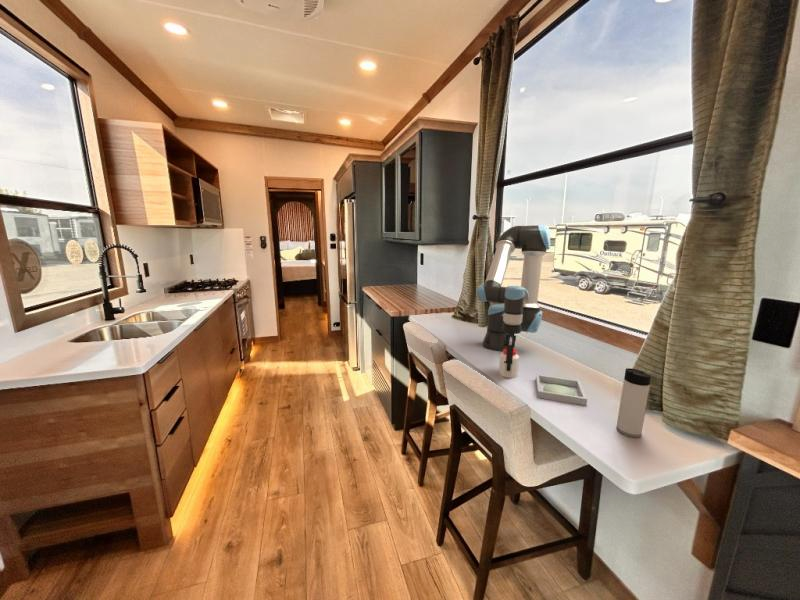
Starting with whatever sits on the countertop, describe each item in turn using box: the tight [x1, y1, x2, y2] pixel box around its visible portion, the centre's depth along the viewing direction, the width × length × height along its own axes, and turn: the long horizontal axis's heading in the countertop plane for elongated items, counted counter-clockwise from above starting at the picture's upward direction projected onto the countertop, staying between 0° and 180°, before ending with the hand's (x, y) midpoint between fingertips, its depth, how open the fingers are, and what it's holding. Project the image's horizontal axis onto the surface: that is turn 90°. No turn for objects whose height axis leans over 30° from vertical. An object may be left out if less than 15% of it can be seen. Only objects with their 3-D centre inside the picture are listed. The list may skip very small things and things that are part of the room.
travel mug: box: [616, 367, 652, 438], centre depth 95 cm, size 6×7×20 cm
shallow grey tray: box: [535, 374, 588, 406], centre depth 122 cm, size 16×16×2 cm
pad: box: [542, 383, 576, 396], centre depth 122 cm, size 11×11×1 cm
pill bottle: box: [498, 348, 520, 379], centre depth 137 cm, size 8×8×11 cm
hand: (508, 373), depth 138 cm, fingers closed on pill bottle, 8 cm apart
